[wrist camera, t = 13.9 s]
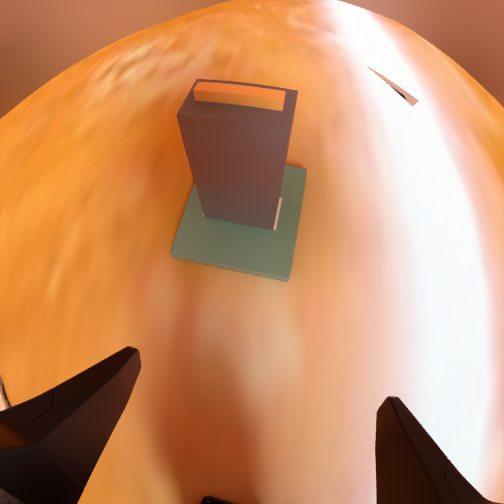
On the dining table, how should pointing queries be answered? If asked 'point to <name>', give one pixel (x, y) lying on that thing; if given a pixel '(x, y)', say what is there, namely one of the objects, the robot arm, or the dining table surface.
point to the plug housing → (238, 148)
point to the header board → (244, 235)
